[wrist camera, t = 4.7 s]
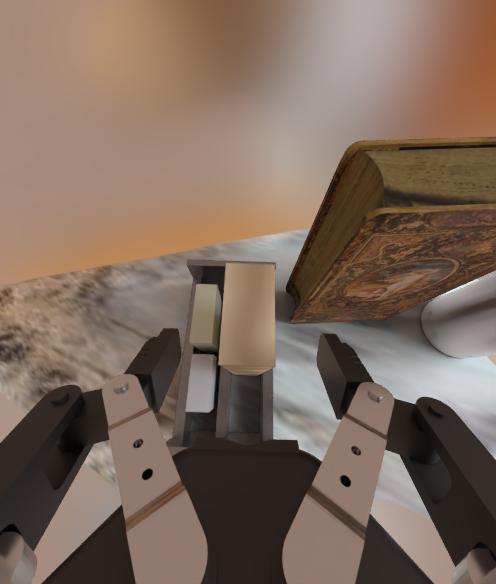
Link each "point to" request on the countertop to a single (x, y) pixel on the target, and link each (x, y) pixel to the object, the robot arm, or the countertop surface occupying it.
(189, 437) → the rack
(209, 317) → the sage offcut
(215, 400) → the pale grey block
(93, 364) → the countertop surface
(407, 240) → the book
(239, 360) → the birch board
